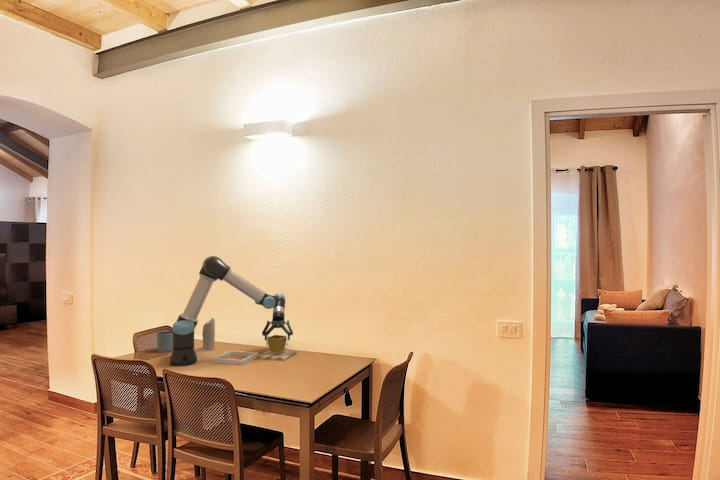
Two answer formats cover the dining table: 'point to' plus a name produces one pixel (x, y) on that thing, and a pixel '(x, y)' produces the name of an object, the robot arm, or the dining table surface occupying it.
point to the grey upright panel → (208, 336)
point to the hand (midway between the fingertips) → (277, 344)
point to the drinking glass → (165, 341)
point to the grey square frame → (233, 361)
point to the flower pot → (277, 343)
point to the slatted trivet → (277, 355)
